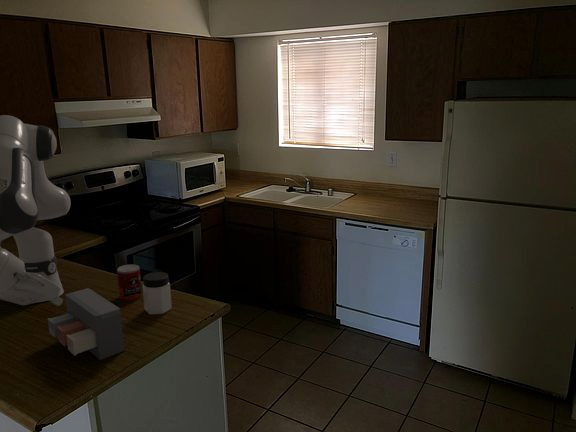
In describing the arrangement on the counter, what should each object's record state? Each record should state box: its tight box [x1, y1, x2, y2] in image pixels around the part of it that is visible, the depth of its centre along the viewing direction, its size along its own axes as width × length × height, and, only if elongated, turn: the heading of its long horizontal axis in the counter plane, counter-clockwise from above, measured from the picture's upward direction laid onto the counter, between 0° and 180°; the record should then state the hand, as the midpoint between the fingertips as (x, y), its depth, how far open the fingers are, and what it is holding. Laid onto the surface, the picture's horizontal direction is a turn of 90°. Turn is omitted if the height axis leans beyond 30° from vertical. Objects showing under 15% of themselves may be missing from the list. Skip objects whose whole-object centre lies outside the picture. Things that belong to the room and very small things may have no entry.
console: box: [64, 287, 125, 361], centre depth 141 cm, size 7×21×13 cm, turn 45°
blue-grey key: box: [47, 313, 76, 338], centre depth 142 cm, size 8×4×4 cm, turn 135°
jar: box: [142, 271, 173, 315], centre depth 163 cm, size 9×8×12 cm
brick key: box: [57, 320, 86, 347], centre depth 138 cm, size 8×4×4 cm, turn 135°
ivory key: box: [66, 328, 97, 356], centre depth 133 cm, size 8×4×4 cm, turn 135°
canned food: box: [116, 263, 143, 302], centre depth 174 cm, size 8×8×11 cm
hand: (48, 301), depth 122 cm, fingers open, 8 cm apart
